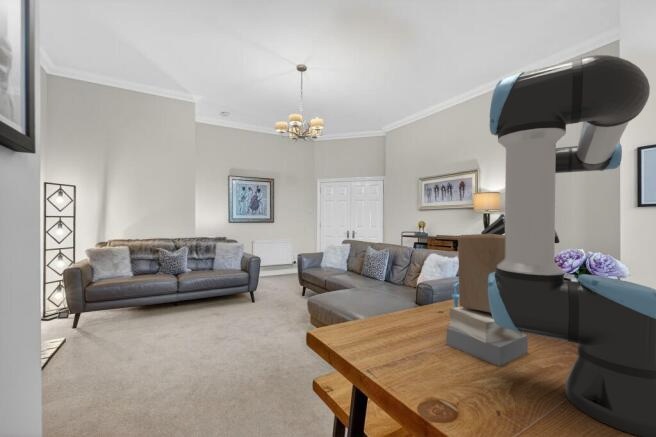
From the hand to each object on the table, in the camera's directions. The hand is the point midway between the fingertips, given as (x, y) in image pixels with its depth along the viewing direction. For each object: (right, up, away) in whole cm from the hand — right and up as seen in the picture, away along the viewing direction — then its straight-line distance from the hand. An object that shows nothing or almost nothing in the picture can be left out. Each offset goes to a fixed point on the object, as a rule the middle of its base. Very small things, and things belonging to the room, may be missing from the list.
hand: (508, 256), depth 84 cm
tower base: (-10, -24, -7) cm, 27 cm away
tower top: (-10, -19, -7) cm, 23 cm away
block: (-9, -14, -5) cm, 17 cm away
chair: (-3, -24, +20) cm, 32 cm away
